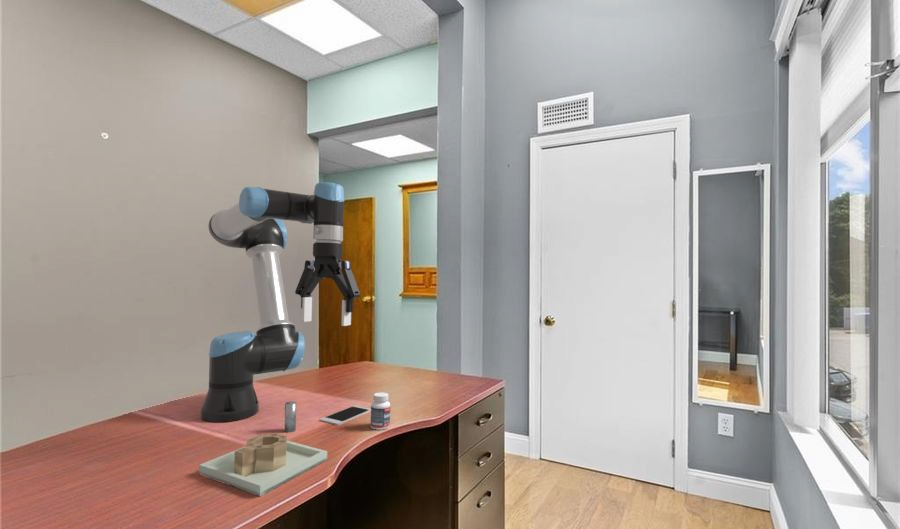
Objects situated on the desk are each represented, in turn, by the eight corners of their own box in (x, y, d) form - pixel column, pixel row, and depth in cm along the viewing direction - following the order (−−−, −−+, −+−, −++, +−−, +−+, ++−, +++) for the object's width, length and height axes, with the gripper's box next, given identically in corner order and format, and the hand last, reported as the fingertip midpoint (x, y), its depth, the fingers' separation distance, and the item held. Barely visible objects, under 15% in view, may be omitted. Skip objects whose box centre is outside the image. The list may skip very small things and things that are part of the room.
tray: (199, 474, 90) (199, 464, 90) (270, 444, 106) (270, 436, 106) (260, 496, 82) (260, 485, 82) (327, 460, 98) (327, 451, 98)
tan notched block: (268, 453, 99) (269, 431, 99) (294, 461, 96) (294, 438, 96) (224, 472, 89) (225, 448, 89) (251, 482, 86) (252, 456, 86)
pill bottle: (385, 431, 116) (386, 397, 116) (367, 429, 117) (368, 396, 117) (392, 424, 121) (393, 392, 121) (374, 422, 122) (375, 391, 122)
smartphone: (318, 422, 123) (318, 418, 123) (355, 407, 137) (355, 404, 137) (338, 426, 120) (338, 423, 120) (373, 411, 133) (373, 408, 133)
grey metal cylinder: (282, 431, 114) (282, 403, 115) (290, 427, 117) (291, 400, 117) (289, 432, 113) (290, 405, 113) (297, 429, 116) (298, 402, 116)
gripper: (282, 242, 117) (280, 321, 116) (356, 240, 105) (354, 328, 105) (303, 243, 123) (301, 318, 123) (375, 243, 112) (373, 325, 112)
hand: (325, 323), depth 114 cm, fingers open, 13 cm apart
